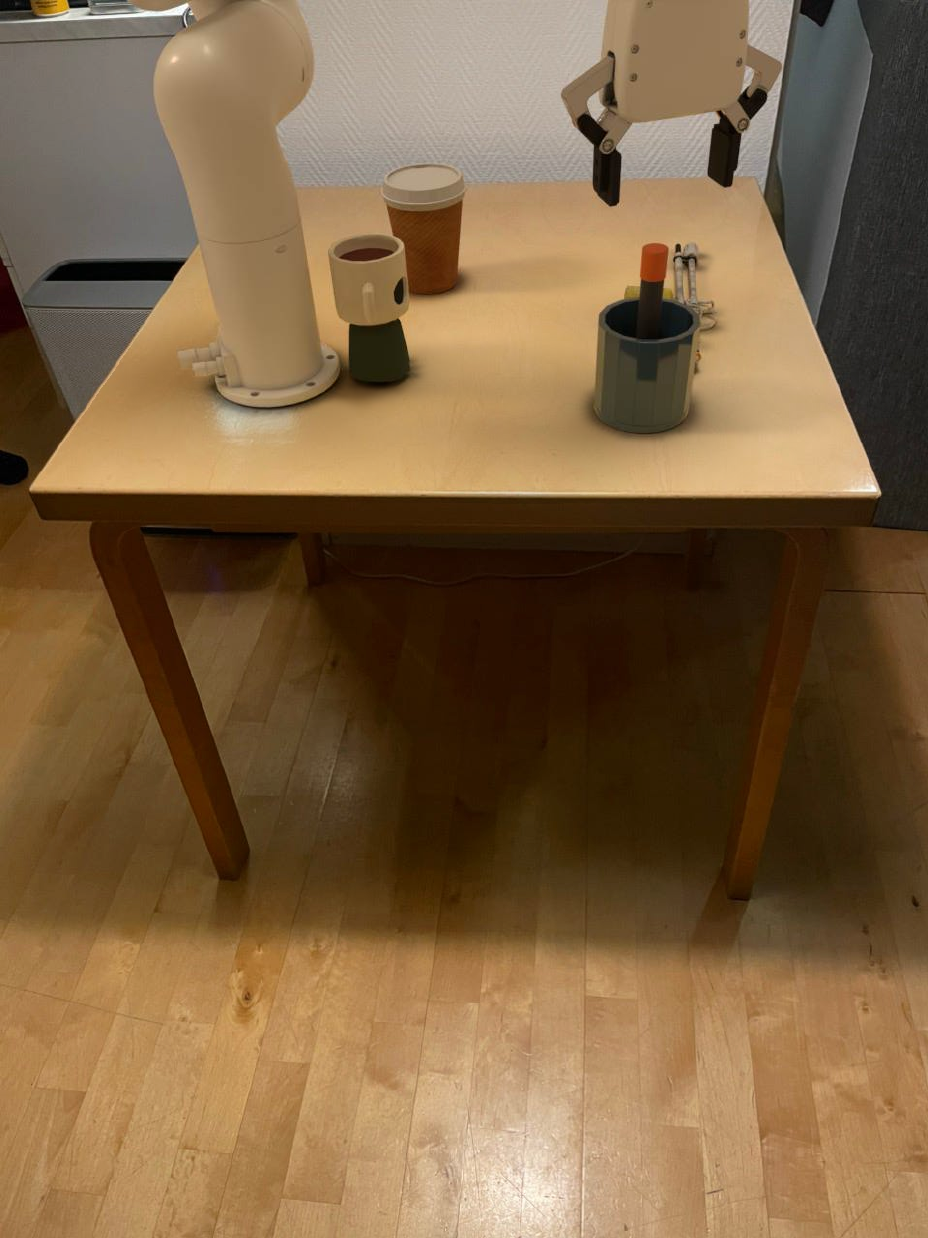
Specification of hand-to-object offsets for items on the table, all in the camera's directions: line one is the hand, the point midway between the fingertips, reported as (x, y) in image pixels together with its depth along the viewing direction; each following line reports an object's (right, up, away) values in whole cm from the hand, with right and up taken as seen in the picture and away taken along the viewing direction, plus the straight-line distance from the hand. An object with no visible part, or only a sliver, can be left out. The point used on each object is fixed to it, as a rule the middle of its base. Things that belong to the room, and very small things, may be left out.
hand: (663, 190), depth 78 cm
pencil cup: (+1, -14, +14) cm, 20 cm away
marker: (+1, -14, +13) cm, 19 cm away
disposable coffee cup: (-20, +5, +36) cm, 41 cm away
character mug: (-25, -10, +21) cm, 34 cm away
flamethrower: (+6, -1, +28) cm, 29 cm away
